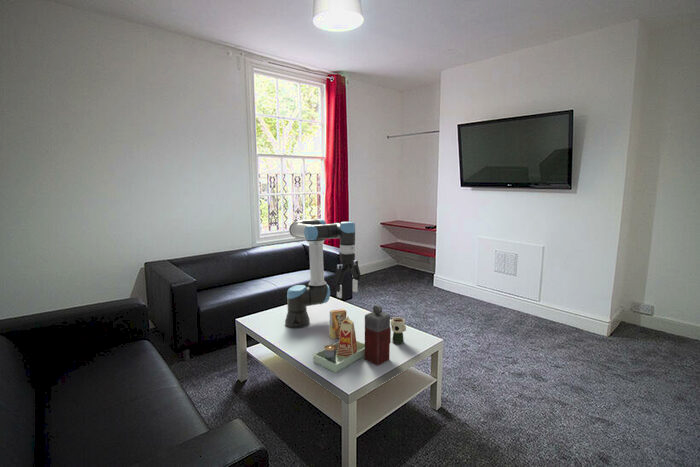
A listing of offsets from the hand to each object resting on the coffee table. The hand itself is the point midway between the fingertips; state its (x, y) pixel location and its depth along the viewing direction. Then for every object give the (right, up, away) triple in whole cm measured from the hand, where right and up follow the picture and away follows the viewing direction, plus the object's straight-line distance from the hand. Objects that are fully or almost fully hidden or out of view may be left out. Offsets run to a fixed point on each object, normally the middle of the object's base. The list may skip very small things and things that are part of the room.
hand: (347, 294), depth 176 cm
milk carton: (0, -30, 0) cm, 30 cm away
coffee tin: (-8, -32, -9) cm, 34 cm away
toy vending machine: (+16, -31, -4) cm, 35 cm away
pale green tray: (-3, -31, -3) cm, 31 cm away
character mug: (+28, -29, +14) cm, 42 cm away
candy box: (-5, -28, +21) cm, 35 cm away
